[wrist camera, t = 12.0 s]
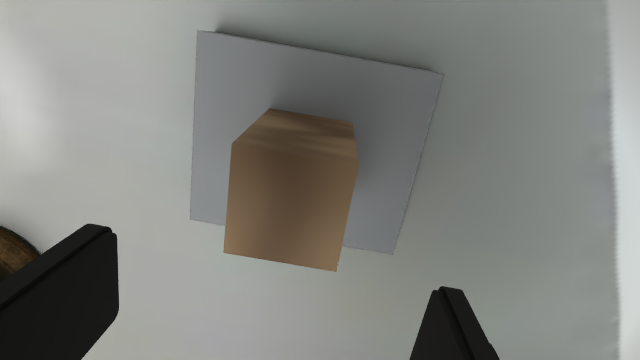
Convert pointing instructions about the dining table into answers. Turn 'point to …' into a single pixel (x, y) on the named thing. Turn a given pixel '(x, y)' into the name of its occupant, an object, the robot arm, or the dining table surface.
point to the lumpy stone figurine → (13, 253)
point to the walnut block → (291, 189)
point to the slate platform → (318, 100)
